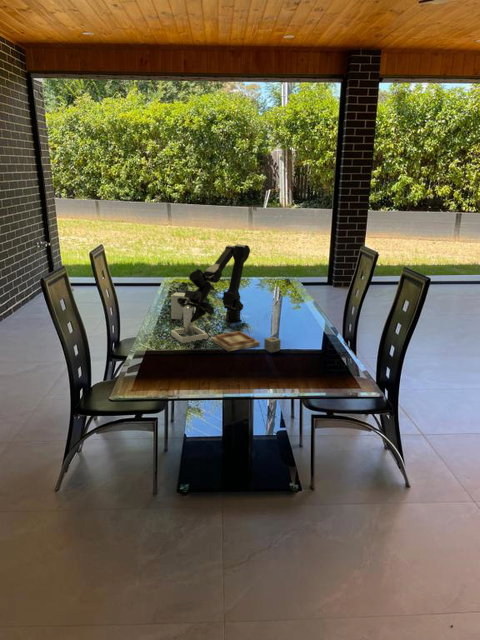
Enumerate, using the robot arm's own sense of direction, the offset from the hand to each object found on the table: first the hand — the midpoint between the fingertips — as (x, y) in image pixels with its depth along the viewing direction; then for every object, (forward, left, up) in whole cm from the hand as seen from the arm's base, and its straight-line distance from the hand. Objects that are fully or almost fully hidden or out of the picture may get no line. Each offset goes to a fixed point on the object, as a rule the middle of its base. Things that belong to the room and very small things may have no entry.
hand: (186, 321), depth 233 cm
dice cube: (-26, +32, -9) cm, 42 cm away
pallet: (-16, +16, -8) cm, 25 cm away
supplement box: (-10, -32, -8) cm, 34 cm away
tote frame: (-1, -1, -8) cm, 8 cm away
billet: (-1, -1, -7) cm, 7 cm away
